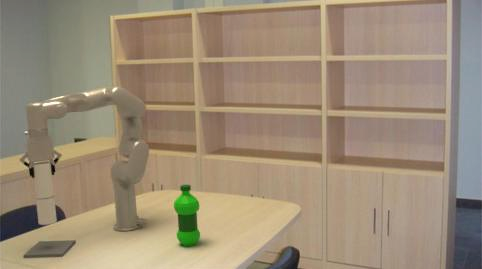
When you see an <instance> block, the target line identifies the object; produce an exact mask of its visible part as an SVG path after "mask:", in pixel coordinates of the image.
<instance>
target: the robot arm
mask: <svg viewBox="0 0 482 269" xmlns="http://www.w3.org/2000/svg"><path fill="white" fill-rule="evenodd" d="M109 106H116V111H117V114H118V115H119V117H121V120H122V122H123V127H122V134H121V137H120V140H119V145H118V153H119V155H120V156H121V157H123V158H125V159H127V160H116V161H115V162H113V163H112V165H111V167H110V177H111V180H112V186H113V194H114V205H115V206H114V208H115V220H116V223H114V225H113V230H115V231H116V232H117V231H118V232H129V231H133V230H137V229H139V228H141V227H142V225H143V224H147V219H146V218H141V217H140V216H139V215H138V213H137V211H138V210H137V198H136V187H135V185H137V184H139V183H140V182H141V181H142V179H143V178H144V175H145V171H146V167H147V164H148V160H149V154H150V147H149V145H148V143H147V142H146V141H145V140H143V139H141V136H142V132H143V124H142V122H143V121H142V119H141V118H142V117H144V116H145V115H146V113H147V106H146V103H145V102H144V101H143V100H142V99H140V98H139V97H138V96H136V95H134V94H133V93H132V92H130V91H128V90H127V89H125V88H124V87H121V86H118V85H115V86H114V85H109V86H108V85H107V86H106V85H105V86H102V87H98V88H94V89H89V90H85V91H82V92H76V93H71V94H66V95H62V96H58V97H52V98H49V99H45V100H43V101H42V102H40V101H38V102H30V103H27V104H26V105H25V111H26V112H25V114H26V124H27V130H26V131H24V135H25V136H28V137H27V138H26V153H25V154H23V156H21V157H20V158H19V162H21V163H22V164H23V165H24V166H25V167H27V168H28V172H29V177H31V178H32V179H34V170H33V167H32V166H33V163H36V162H43V161H50V162H51V170H52V176H55V173H56V164H57V163H58V162H59V161H60V159H61V157H62V156H63V155H62V153H60V152H58V151H57V150H56V149H54V144H53V143H54V142H53V138H52V136H51V134H49V126H48V120H60V119H63V118H64V117H65V116H66V115H67V114H68V113H69V114H70V113H85V112H90V111H94V110H97V109H101V108H105V107H109ZM55 155H56V157H55ZM26 159H27V160H28V161H29V162H27V161H25V160H26Z"/></svg>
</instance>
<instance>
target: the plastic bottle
mask: <svg viewBox="0 0 482 269" xmlns="http://www.w3.org/2000/svg"><path fill="white" fill-rule="evenodd" d="M179 189H180V192H181V194H180V195H179V196H177V198H176V199H175V201H174V203H173V208H174V211H175V212H176V214H177V223H178V225H177V226H178V230H177V232H176V238H177V241H178V242H179V243H180V244H182V246H184V247H191V246H194V245H196V243H197V242H198V241H199V240H200V238H201V232H200V230H199V229H198V217H197V216H198V214H197V213H198V212H199V210H200V202H199V200H198V198H196V197H195V196H194V195H193V194H192V193H191V192H190V191H191V184H181V185H180V186H179Z"/></svg>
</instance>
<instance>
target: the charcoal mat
mask: <svg viewBox="0 0 482 269" xmlns="http://www.w3.org/2000/svg"><path fill="white" fill-rule="evenodd" d="M76 241H77V240H76V239H73V240H72V239H69V240H68V239H67V240H40V241H38V242H37V243H35V244H34V245H33V246H32V247H31V248H30V249H29V250H27V251H26V252H25V253H24V254H23V259H27V258H28V259H29V258H31V259H32V258H36V259H37V258H63V257H64V256H65V255H66V254H67V253H68V252H69V251H70V250H71V248H72V247H73V246H74V245H75V244H76V243H77V242H76Z"/></svg>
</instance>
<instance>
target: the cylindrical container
mask: <svg viewBox="0 0 482 269" xmlns="http://www.w3.org/2000/svg"><path fill="white" fill-rule="evenodd" d="M32 168H33V170H34V178H33V185H34V192H35V193H34V194H35V204H36V212H37V220H38V221H37V223H38V225H41V226H46V225H52V224H54V223H56V222H57V210H56V202H55V191H54V190H55V189H54V182H53V175H52V170H51V162H50V161H49V160H48V161H40V162H34V163H33V166H32Z"/></svg>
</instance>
